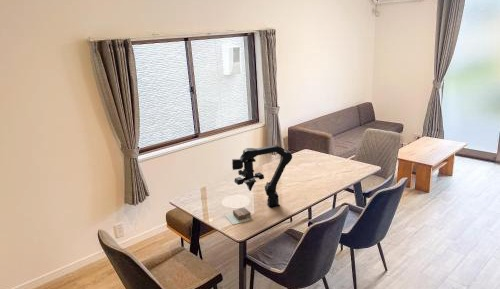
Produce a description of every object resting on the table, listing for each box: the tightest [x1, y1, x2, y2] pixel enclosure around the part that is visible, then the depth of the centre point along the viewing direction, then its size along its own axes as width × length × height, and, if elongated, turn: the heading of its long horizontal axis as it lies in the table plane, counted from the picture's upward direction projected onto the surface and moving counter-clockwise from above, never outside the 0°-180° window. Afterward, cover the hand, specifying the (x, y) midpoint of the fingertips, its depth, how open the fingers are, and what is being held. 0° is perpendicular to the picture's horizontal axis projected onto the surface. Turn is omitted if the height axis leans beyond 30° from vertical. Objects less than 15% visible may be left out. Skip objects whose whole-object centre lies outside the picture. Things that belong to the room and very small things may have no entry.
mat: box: [224, 212, 252, 226], centre depth 227 cm, size 12×14×1 cm
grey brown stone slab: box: [232, 207, 252, 220], centre depth 228 cm, size 3×9×8 cm
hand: (250, 190), depth 236 cm, fingers closed
